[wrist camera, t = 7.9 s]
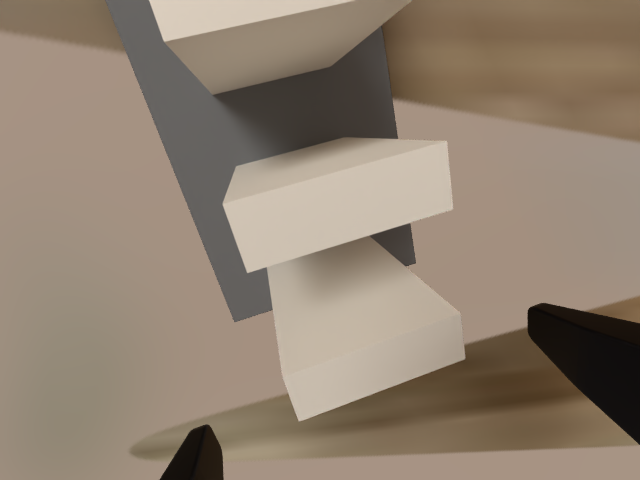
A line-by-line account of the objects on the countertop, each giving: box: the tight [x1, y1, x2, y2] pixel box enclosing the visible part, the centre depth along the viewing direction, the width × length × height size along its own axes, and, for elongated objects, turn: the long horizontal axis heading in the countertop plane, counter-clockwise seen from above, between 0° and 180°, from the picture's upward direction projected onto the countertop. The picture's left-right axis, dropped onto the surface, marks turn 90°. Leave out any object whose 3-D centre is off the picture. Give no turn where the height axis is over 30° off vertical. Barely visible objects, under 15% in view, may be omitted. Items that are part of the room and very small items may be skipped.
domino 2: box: [223, 137, 453, 273], centre depth 11 cm, size 2×5×8 cm, turn 104°
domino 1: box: [149, 0, 412, 95], centre depth 9 cm, size 2×5×8 cm, turn 104°
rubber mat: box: [105, 0, 416, 322], centre depth 13 cm, size 10×26×1 cm, turn 14°
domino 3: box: [267, 236, 465, 422], centre depth 12 cm, size 2×5×8 cm, turn 104°
